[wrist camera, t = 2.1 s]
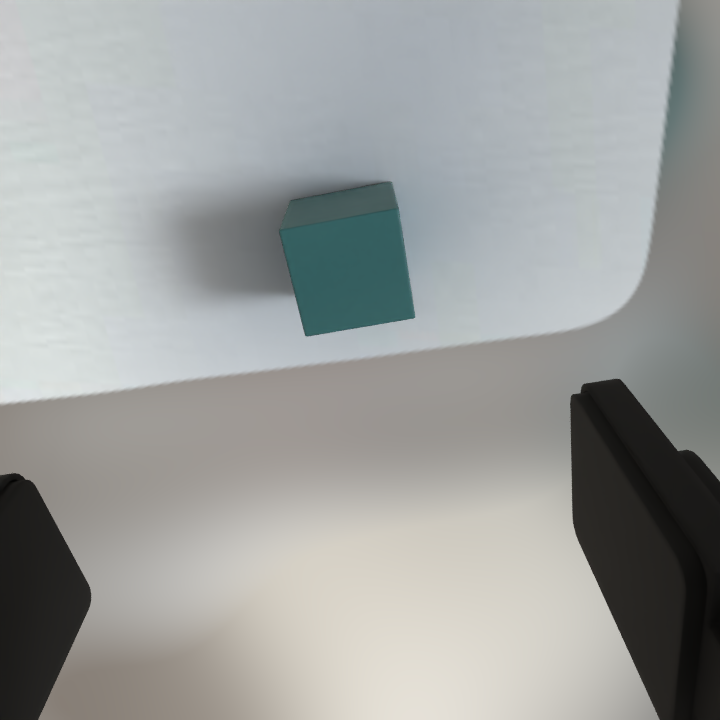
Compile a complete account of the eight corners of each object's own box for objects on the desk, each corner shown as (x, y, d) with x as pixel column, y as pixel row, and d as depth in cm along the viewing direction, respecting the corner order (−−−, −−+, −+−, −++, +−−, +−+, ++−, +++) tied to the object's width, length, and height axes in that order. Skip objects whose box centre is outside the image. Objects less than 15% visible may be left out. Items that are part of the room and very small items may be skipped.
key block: (391, 181, 26) (398, 207, 22) (407, 278, 28) (415, 318, 24) (289, 200, 26) (278, 230, 22) (312, 295, 28) (305, 337, 24)
